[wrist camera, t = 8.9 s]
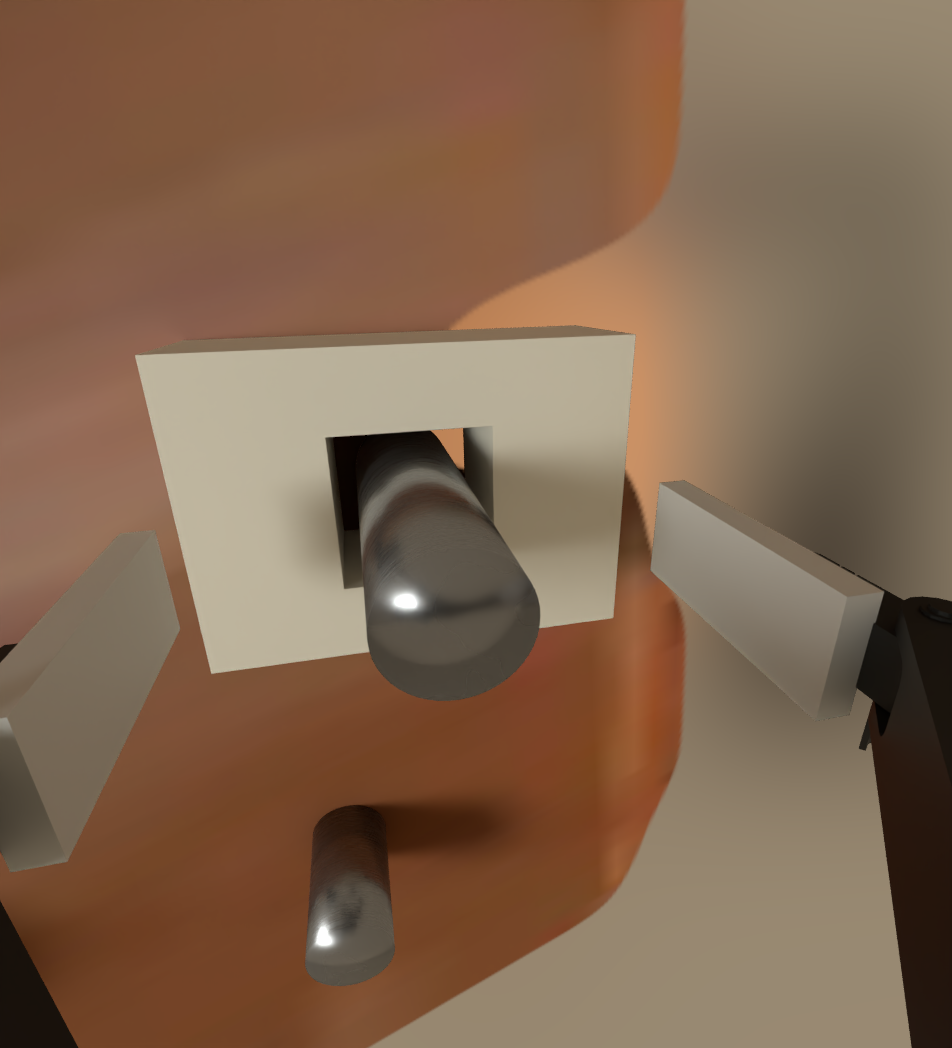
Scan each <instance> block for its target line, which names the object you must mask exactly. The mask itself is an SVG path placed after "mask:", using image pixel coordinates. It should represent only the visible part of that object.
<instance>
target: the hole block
mask: <svg viewBox="0 0 952 1048" xmlns="http://www.w3.org/2000/svg"><path fill="white" fill-rule="evenodd" d="M635 336H636V335H635V334H629V333H623V332H616V331H609V330H602V329H596V328H589V327H582V326H576V325H575V326H549V327H523V328H498V329H497V328H496V329H471V330H442V331H416V332H389V333H363V334H336V335H310V336H283V337H257V338H230V339H204V340H183V341H180V342H177V343H173V344H170V345H167V346H164V347H160V348H157V349H154V350H151V351H147V352H144V353H141V354H138V355H135V357H136V361H137V365H138V369H139V373H140V378H141V382H142V386H143V390H144V394H145V399H146V403H147V407H148V411H149V415H150V419H151V424H152V428H153V432H154V436H155V440H156V444H157V449H158V453H159V457H160V461H161V465H162V469H163V474H164V478H165V482H166V486H167V490H168V494H169V499H170V503H171V507H172V511H173V515H174V519H175V524H176V528H177V532H178V536H179V540H180V544H181V549H182V553H183V557H184V561H185V565H186V569H187V574H188V578H189V582H190V586H191V590H192V595H193V599H194V603H195V607H196V611H197V615H198V620H199V624H200V628H201V632H202V636H203V640H204V645H205V649H206V653H207V657H208V661H209V665H210V670H211V674H213V673H220V672H227V671H234V670H242V669H249V668H256V667H263V666H270V665H278V664H285V663H292V662H299V661H306V660H314V659H321V658H328V657H335V656H342V655H350V654H357V653H364V652H369V647H368V642H367V631H366V616H365V601H364V586H363V571H362V556H361V541H360V529H357V530H347V531H344V526H343V517H342V509H341V501H340V492H339V484H338V476H337V467H336V459H335V450H334V442H333V437H340V436H354V435H369V434H383V433H397V432H412V431H426V430H440V429H455V428H463V437H464V470H465V480H466V482H467V484H468V485H469V487H470V488H471V490H472V491H473V493H474V494H475V496H476V498H477V499H478V501H479V502H480V504H481V505H482V507H483V508H484V510H485V511H486V513H487V515H488V516H489V518H490V519H491V521H492V522H493V524H494V525H495V527H496V528H497V530H498V532H499V533H500V535H501V536H502V538H503V539H504V541H505V542H506V544H507V546H508V547H509V549H510V550H511V552H512V553H513V555H514V556H515V558H516V559H517V561H518V563H519V564H520V566H521V567H522V569H523V570H524V572H525V573H526V575H527V576H528V578H529V580H530V581H531V583H532V585H533V587H534V588H535V591H536V594H537V596H538V600H539V605H540V627H539V628H544V627H551V626H558V625H566V624H573V623H580V622H587V621H594V620H602V619H609V618H613V613H614V600H615V588H616V575H617V563H618V550H619V537H620V525H621V512H622V500H623V487H624V475H625V462H626V449H627V436H628V425H629V412H630V398H631V387H632V374H633V361H634V349H635Z"/></svg>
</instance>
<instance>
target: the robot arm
mask: <svg viewBox="0 0 952 1048" xmlns="http://www.w3.org/2000/svg"><path fill="white" fill-rule="evenodd" d="M650 571H652V572H653V573H654V574H655V575H656V576H657V577H658V578H659V579H660V580H661V581H662V582H664V583H665V584H666V585H667V586H668V587H669V588H670V589H671V590H672V591H673V592H675V593H676V594H677V595H678V596H679V597H680V598H681V599H682V600H683V601H685V602H686V603H687V604H688V605H689V606H690V607H691V608H692V609H693V610H694V611H695V612H696V613H698V614H699V615H700V616H701V617H702V618H703V619H704V620H705V621H706V622H707V623H709V624H710V625H711V626H712V627H713V628H714V629H715V630H716V631H717V632H718V633H720V634H721V635H722V636H723V637H724V638H725V639H726V640H727V641H729V643H730V644H732V645H733V646H734V647H735V648H736V649H737V650H738V651H739V652H740V653H741V654H743V655H744V656H745V657H746V658H747V659H748V660H749V661H750V662H751V663H752V664H753V665H755V666H756V667H757V668H758V669H759V670H760V671H761V672H762V673H763V674H764V675H766V676H767V677H768V678H769V679H770V680H771V681H772V682H773V683H774V684H775V685H777V686H778V687H779V688H780V689H781V690H782V691H783V692H784V693H785V694H786V695H787V696H789V697H790V698H791V699H792V700H793V701H794V702H795V703H796V704H797V705H798V706H799V707H801V708H802V709H803V710H804V711H805V712H806V713H807V714H808V715H809V716H811V717H812V718H813V719H814V720H815V721H820V720H825V719H830V718H835V717H841V716H846V715H849V714H850V711H851V707H852V704H853V700H854V697H855V693H856V690H857V688H858V689H859V690H860V691H862V692H863V693H864V694H865V695H867V696H868V697H869V698H871V699H872V700H873V702H872V706H871V709H870V712H869V716H868V719H867V722H866V726H865V729H864V732H863V736H862V739H861V742H860V746H859V749H862V750H866V748H867V745H868V744H869V743H871V744H872V751H873V759H874V767H875V774H876V781H877V789H878V796H879V803H880V812H881V819H882V826H883V834H884V842H885V850H886V857H887V864H888V872H889V880H890V887H891V895H892V902H893V910H894V917H895V925H896V932H897V940H898V947H899V955H900V962H901V970H902V978H903V985H904V992H905V1000H906V1008H907V1016H908V1023H909V1031H910V1038H911V1046H912V1048H952V601H947V600H943V599H939V598H930V597H910V598H908V599H906V600H902V599H901V598H899V597H897V596H895V595H893V594H892V593H890V592H888V591H886V590H884V589H882V588H881V587H879V586H877V585H875V584H873V583H871V582H870V581H868V580H866V579H864V578H863V577H861V576H859V575H857V576H855V573H854V572H852V571H850V570H848V569H846V568H845V567H840V565H839V564H837V563H835V562H834V561H832V560H830V559H828V558H826V557H825V556H823V555H821V554H818V553H815V552H812V551H810V550H808V549H807V548H805V547H803V546H801V545H799V544H797V543H796V542H794V541H792V540H791V539H789V538H787V537H785V536H783V535H782V534H780V533H778V532H776V531H774V530H773V529H771V528H769V527H767V526H765V525H764V524H762V523H760V522H758V521H756V520H755V519H753V518H751V517H749V516H747V515H746V514H744V513H742V512H740V511H738V510H736V509H735V508H733V507H731V506H729V505H727V504H726V503H724V502H722V501H720V500H719V499H717V498H715V497H713V496H711V495H710V494H708V493H706V492H704V491H702V490H701V489H699V488H697V487H695V486H693V485H691V484H690V483H688V482H686V481H674V482H662V483H660V484H659V493H658V502H657V513H656V523H655V531H654V541H653V550H652V560H651V569H650ZM179 630H180V626H179V622H178V618H177V614H176V610H175V606H174V603H173V599H172V595H171V591H170V587H169V583H168V579H167V575H166V571H165V567H164V563H163V560H162V556H161V552H160V548H159V544H158V540H157V536H156V532H155V530H151V531H140V532H129V533H120V534H119V535H118V536H117V537H116V538H115V539H114V540H113V541H112V543H111V544H110V545H109V546H108V547H107V548H106V549H105V550H104V551H103V552H102V553H101V554H100V556H99V557H98V558H97V559H96V560H95V561H94V562H93V563H92V564H91V565H90V566H89V567H88V568H87V570H86V571H85V572H84V573H83V574H82V575H81V576H80V577H79V578H78V579H77V580H76V581H75V583H74V584H73V585H72V586H71V587H70V588H69V589H68V590H67V591H66V592H65V593H64V594H63V596H62V597H61V598H60V599H59V600H58V601H57V602H56V603H55V604H54V605H53V606H52V607H51V608H50V610H49V611H48V612H47V613H46V614H45V615H44V616H43V617H42V618H41V619H40V620H39V621H38V623H37V624H36V625H35V626H34V627H33V628H32V629H31V630H30V631H29V632H28V633H27V634H26V636H25V637H24V638H23V639H22V640H21V641H20V642H19V643H18V644H10V645H4V646H3V647H1V648H0V851H1V853H2V855H3V857H4V860H5V862H6V864H7V866H8V868H9V870H10V872H15V871H20V870H25V869H31V868H36V867H41V866H47V865H52V864H57V863H63V862H67V861H68V859H69V857H70V855H71V853H72V851H73V849H74V847H75V845H76V843H77V841H78V839H79V836H80V834H81V832H82V830H83V828H84V826H85V824H86V822H87V820H88V818H89V816H90V814H91V812H92V810H93V808H94V806H95V803H96V801H97V799H98V797H99V795H100V793H101V791H102V789H103V787H104V785H105V783H106V781H107V779H108V777H109V775H110V773H111V771H112V768H113V766H114V764H115V762H116V760H117V758H118V756H119V754H120V752H121V750H122V748H123V746H124V744H125V742H126V740H127V738H128V735H129V733H130V731H131V729H132V727H133V725H134V723H135V721H136V719H137V717H138V715H139V713H140V711H141V709H142V707H143V705H144V702H145V700H146V698H147V696H148V694H149V692H150V690H151V688H152V686H153V684H154V682H155V680H156V678H157V676H158V674H159V672H160V669H161V667H162V665H163V663H164V661H165V659H166V657H167V655H168V653H169V651H170V649H171V647H172V645H173V643H174V641H175V639H176V637H177V634H178V632H179ZM0 1048H78V1046H77V1044H76V1042H75V1041H74V1039H73V1037H72V1035H71V1033H70V1031H69V1029H68V1027H67V1026H66V1024H65V1022H64V1020H63V1018H62V1016H61V1014H60V1012H59V1010H58V1009H57V1007H56V1005H55V1003H54V1001H53V999H52V997H51V995H50V994H49V992H48V990H47V988H46V986H45V984H44V982H43V980H42V978H41V977H40V975H39V973H38V971H37V969H36V967H35V965H34V963H33V962H32V960H31V958H30V956H29V954H28V952H27V950H26V948H25V946H24V945H23V943H22V941H21V939H20V937H19V935H18V933H17V931H16V930H15V928H14V926H13V924H12V922H11V920H10V918H9V916H8V915H7V913H6V911H5V909H4V907H3V905H2V903H1V901H0Z"/></svg>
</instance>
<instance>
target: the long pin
mask: <svg viewBox="0 0 952 1048" xmlns="http://www.w3.org/2000/svg"><path fill="white" fill-rule="evenodd" d="M356 481H357V496H358V511H359V526H360V541H361V556H362V571H363V586H364V601H365V616H366V631H367V642H368V647H369V652H370V654H371V657H372V660H373V662H374V663H375V665H376V667H377V669H378V670H379V671H380V673H381V674H382V675H383V676H384V677H385V678H386V679H387V680H388V681H389V682H390V683H391V684H393V685H394V686H395V687H397V688H398V689H400V690H402V691H404V692H406V693H408V694H410V695H413V696H416V697H419V698H423V699H428V700H436V701H450V700H460V699H464V698H469V697H472V696H475V695H478V694H481V693H483V692H486V691H488V690H490V689H492V688H494V687H495V686H497V685H499V684H500V683H502V682H503V681H505V680H506V679H507V678H509V677H510V676H511V675H512V674H513V673H514V672H515V671H516V670H517V669H518V668H519V667H520V666H521V665H522V663H523V662H524V661H525V659H526V658H527V657H528V655H529V653H530V652H531V650H532V648H533V646H534V643H535V641H536V638H537V635H538V631H539V627H540V605H539V600H538V596H537V594H536V591H535V588H534V587H533V585H532V583H531V581H530V580H529V578H528V576H527V575H526V573H525V572H524V570H523V569H522V567H521V566H520V564H519V563H518V561H517V559H516V558H515V556H514V555H513V553H512V552H511V550H510V549H509V547H508V546H507V544H506V542H505V541H504V539H503V538H502V536H501V535H500V533H499V532H498V530H497V528H496V527H495V525H494V524H493V522H492V521H491V519H490V518H489V516H488V515H487V513H486V511H485V510H484V508H483V507H482V505H481V504H480V502H479V501H478V499H477V498H476V496H475V494H474V493H473V491H472V490H471V488H470V487H469V485H468V484H467V482H466V480H465V479H464V477H463V476H462V474H461V473H460V471H459V470H458V468H457V467H456V465H455V463H454V462H453V460H452V459H451V457H450V456H449V454H448V453H447V451H446V450H445V448H444V446H443V445H442V443H441V442H440V440H439V439H438V438H437V436H436V435H435V434H434V433H432V432H431V431H430V430H426V431H412V432H397V433H383V434H369V435H368V436H367V437H366V438H365V440H364V441H363V442H362V444H361V446H360V448H359V450H358V453H357V457H356Z"/></svg>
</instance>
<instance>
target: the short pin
mask: <svg viewBox="0 0 952 1048" xmlns="http://www.w3.org/2000/svg"><path fill="white" fill-rule="evenodd" d="M394 951H395V945H394V932H393V919H392V906H391V893H390V880H389V867H388V854H387V841H386V828H385V822H384V819H383V818H382V816H381V815H380V814H379V813H378V812H376V811H375V810H373V809H371V808H368V807H364V806H345V807H341V808H338V809H335V810H333V811H331V812H329V813H328V814H326V815H325V816H324V817H323V818H321V819H320V821H319V822H318V823H317V825H316V826H315V828H314V832H313V842H312V859H311V876H310V893H309V911H308V928H307V945H306V962H305V965H306V970H307V972H308V974H309V975H310V976H311V977H312V978H313V979H314V980H316V981H318V982H320V983H323V984H326V985H332V986H346V985H352V984H357V983H360V982H363V981H366V980H368V979H370V978H372V977H374V976H376V975H377V974H379V973H380V972H381V971H382V970H384V969H385V968H386V967H387V966H388V964H389V963H390V962H391V960H392V958H393V955H394Z"/></svg>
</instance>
